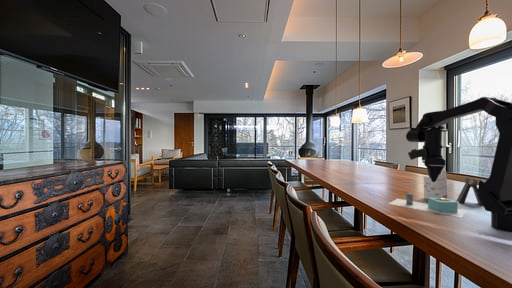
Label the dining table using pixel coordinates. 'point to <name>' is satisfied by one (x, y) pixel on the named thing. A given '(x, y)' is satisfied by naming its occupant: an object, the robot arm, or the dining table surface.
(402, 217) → the dining table surface
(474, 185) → the phone stand
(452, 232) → the dining table surface
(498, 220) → the robot arm
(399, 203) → the board
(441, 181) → the ink cartridge box
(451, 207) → the collar
